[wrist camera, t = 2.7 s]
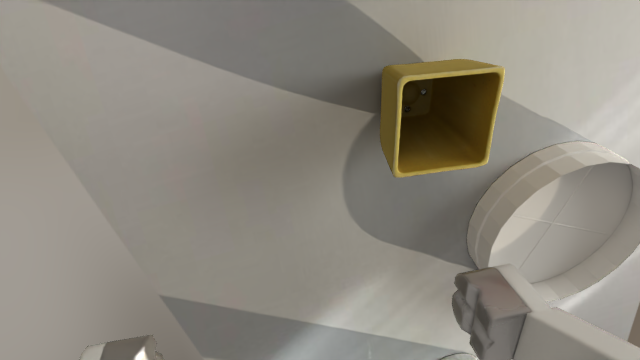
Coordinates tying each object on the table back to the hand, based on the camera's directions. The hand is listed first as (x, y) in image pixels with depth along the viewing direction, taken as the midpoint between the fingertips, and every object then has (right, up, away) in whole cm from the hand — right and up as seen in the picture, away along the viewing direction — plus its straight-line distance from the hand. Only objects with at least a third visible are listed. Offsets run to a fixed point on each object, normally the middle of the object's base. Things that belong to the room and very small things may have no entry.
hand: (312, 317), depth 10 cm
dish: (+30, -1, +42) cm, 51 cm away
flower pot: (+9, +13, +29) cm, 33 cm away
